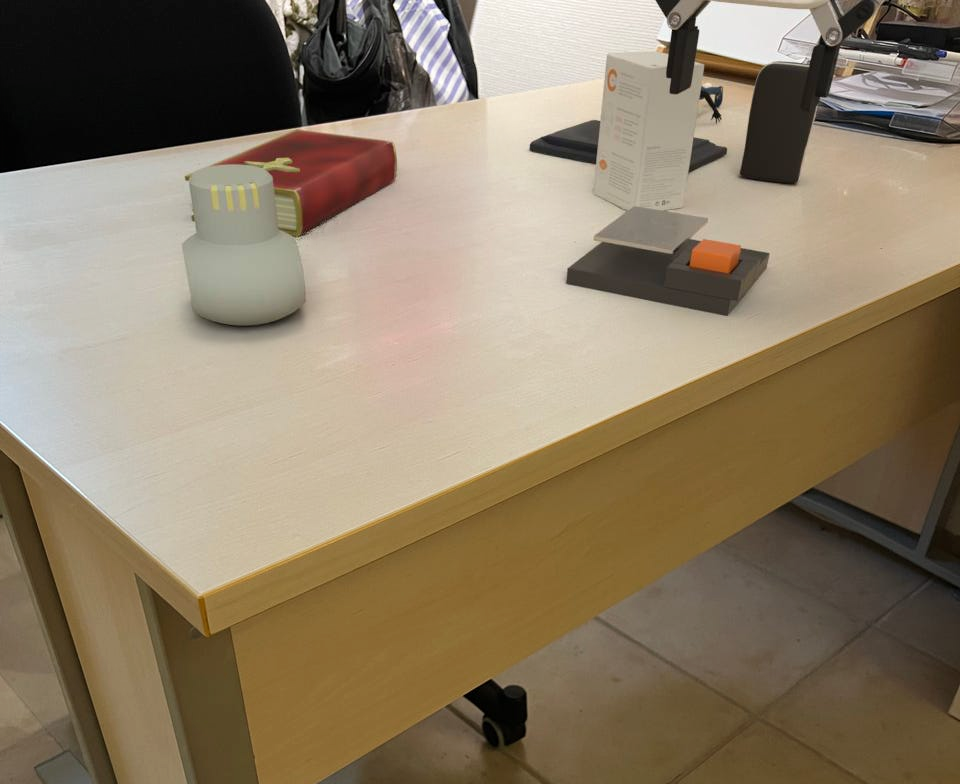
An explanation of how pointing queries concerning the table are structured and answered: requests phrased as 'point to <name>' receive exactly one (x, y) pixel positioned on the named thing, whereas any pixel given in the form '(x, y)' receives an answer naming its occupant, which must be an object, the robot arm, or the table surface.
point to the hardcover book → (319, 174)
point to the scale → (667, 276)
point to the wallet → (584, 145)
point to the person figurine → (706, 92)
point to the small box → (645, 133)
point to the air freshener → (240, 249)
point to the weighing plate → (651, 230)
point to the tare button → (715, 256)
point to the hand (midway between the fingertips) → (742, 99)
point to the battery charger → (777, 124)
